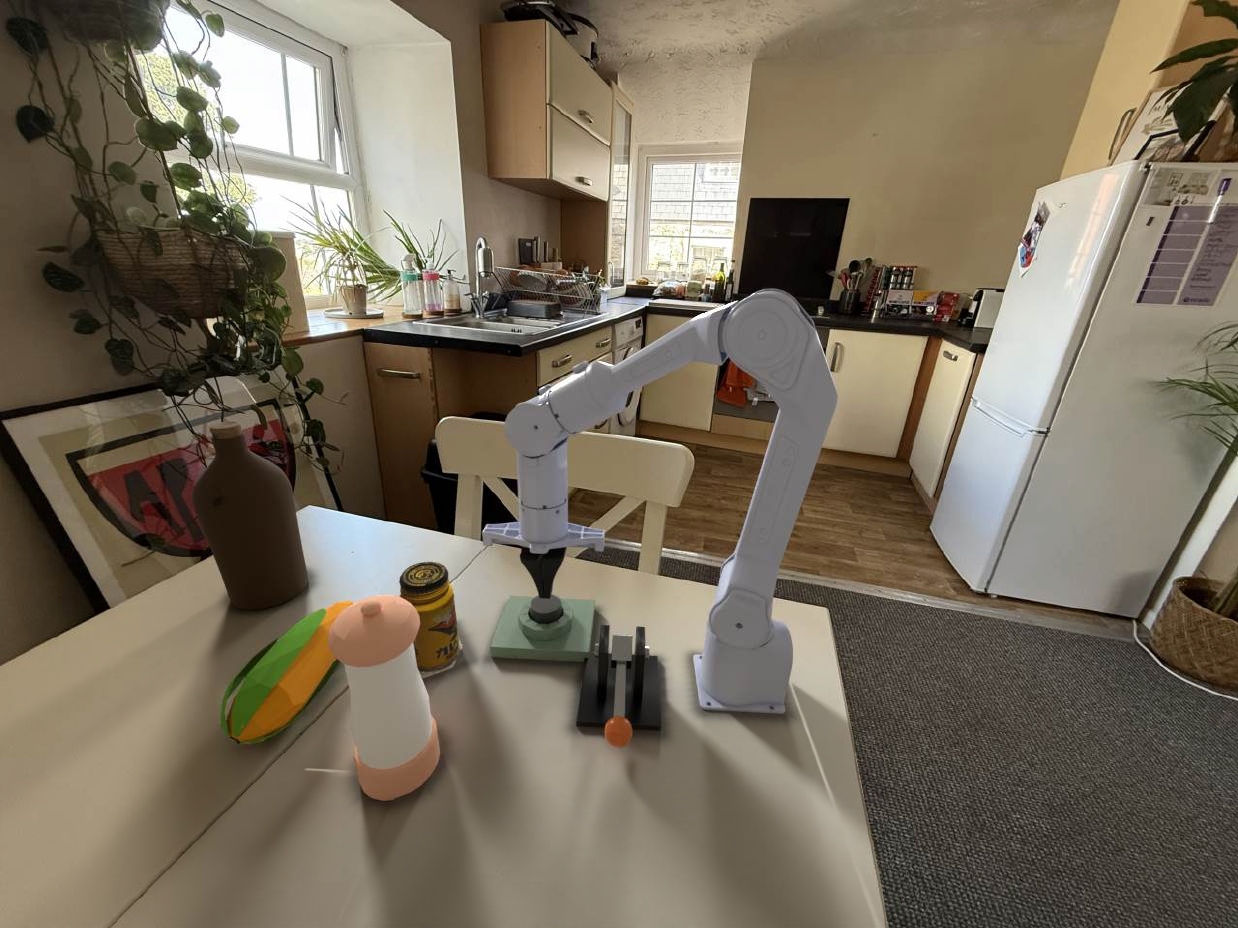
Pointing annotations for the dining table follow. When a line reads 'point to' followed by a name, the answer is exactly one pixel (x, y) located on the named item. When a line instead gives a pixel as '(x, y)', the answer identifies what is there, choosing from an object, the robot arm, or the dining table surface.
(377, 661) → the pepper shaker
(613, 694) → the switch bracket
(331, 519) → the dining table surface
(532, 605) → the button
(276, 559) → the olive oil
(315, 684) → the corn
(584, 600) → the block
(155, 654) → the dining table surface
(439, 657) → the condiment
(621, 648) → the switch lever
